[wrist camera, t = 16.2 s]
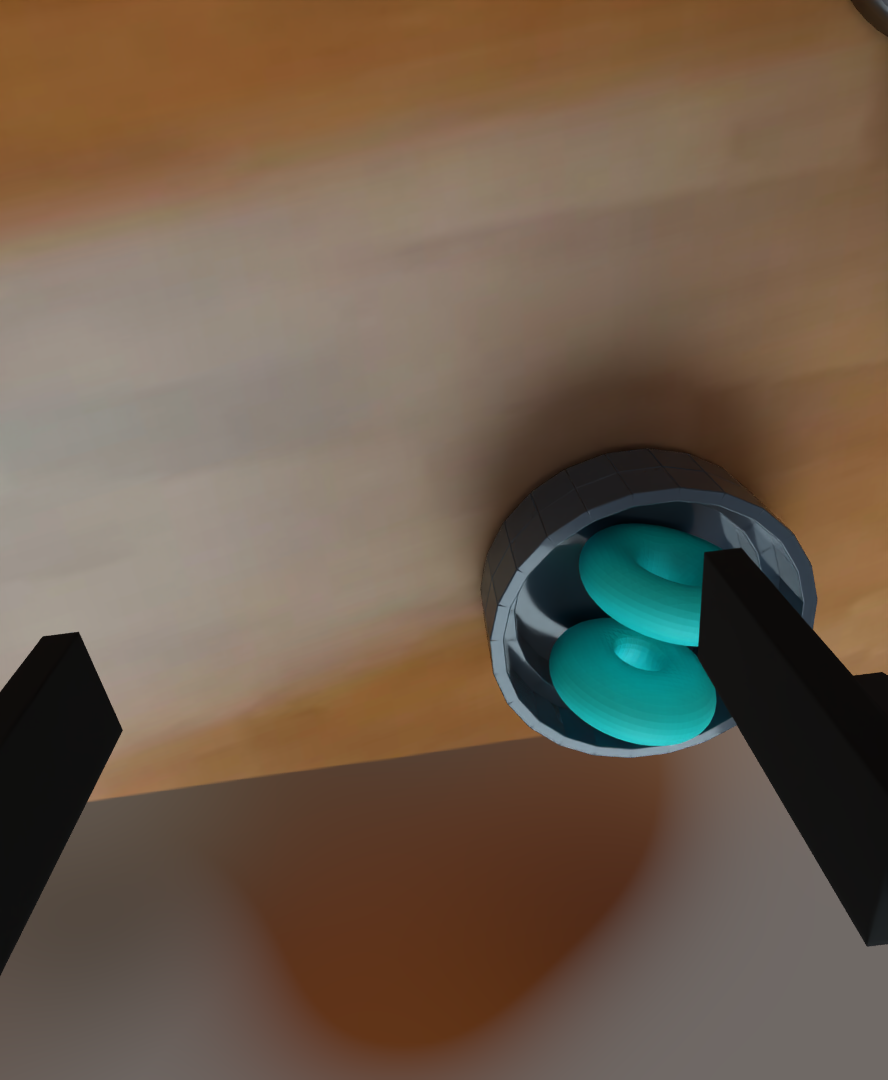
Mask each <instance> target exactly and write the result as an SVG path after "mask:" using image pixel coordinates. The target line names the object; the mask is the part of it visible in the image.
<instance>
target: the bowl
mask: <svg viewBox="0 0 888 1080" xmlns="http://www.w3.org/2000/svg"><path fill="white" fill-rule="evenodd" d="M629 523H640V524H651V525H658V526H663V527H668V528H672V529H675V530H679V531H682V532H685V533H688V534H691V535H694V536H696V537H699V538H701V539H704V540H706V541H708V542H710V543H712V544H714V545H716V546H718V547H719V548H721V549H723V550H725V549H733V548H742V549H743V550H744V551H745V552H746V554H747V555H748V556H749V557H750V558H751V559H752V560H753V562H754V563H755V564H756V565H757V566H758V567H759V568H760V570H761V571H762V572H763V573H764V574H765V575H766V576H767V578H768V579H769V580H770V581H771V582H772V583H773V585H774V586H775V587H776V588H777V589H778V590H779V591H780V593H781V594H782V595H783V596H784V597H785V598H786V599H787V601H788V602H789V603H790V604H791V605H792V606H793V607H794V609H795V610H796V611H797V612H798V613H799V614H800V616H801V617H802V618H803V619H804V620H805V621H806V622H807V624H808V625H809V626H810V627H811V628H812V629H813V625H814V618H815V612H816V605H817V594H816V588H815V582H814V576H813V571H812V565H811V563H810V561H809V559H808V558H807V556H806V554H805V552H804V551H803V549H802V547H801V545H800V544H799V542H798V540H797V538H796V537H795V535H794V534H793V533H792V531H791V530H790V529H789V528H787V527H786V526H785V525H784V524H783V523H782V522H781V521H780V520H779V519H778V518H777V517H776V516H775V515H774V514H773V513H772V512H771V511H770V510H769V509H768V508H767V507H766V506H765V505H763V504H762V503H761V502H760V501H759V500H758V499H757V498H756V497H755V496H754V495H753V494H752V493H751V492H750V491H749V490H748V489H747V488H745V487H744V486H743V485H742V484H741V483H740V482H738V481H737V480H736V479H735V478H734V477H733V476H731V475H730V474H729V473H728V472H727V471H725V470H724V469H723V468H721V467H719V466H717V465H714V464H712V463H710V462H707V461H705V460H703V459H700V458H698V457H695V456H693V455H691V454H687V453H681V452H673V451H665V450H657V449H646V448H645V449H638V450H630V451H622V452H615V453H607V454H603V455H601V456H598V457H595V458H593V459H590V460H588V461H585V462H582V463H580V464H577V465H574V466H572V467H569V468H567V469H566V470H563V471H562V472H560V473H559V474H557V475H556V476H554V477H553V478H551V479H550V480H548V481H547V482H545V483H544V484H542V485H541V486H539V487H538V488H536V489H535V490H534V491H532V492H531V493H530V494H529V495H528V496H527V497H526V498H525V499H524V500H523V502H522V503H521V504H520V505H519V506H518V507H517V508H516V509H515V510H514V512H513V513H512V514H511V515H510V516H509V517H508V518H507V519H506V520H505V522H504V523H503V524H502V526H501V528H500V530H499V532H498V534H497V536H496V538H495V540H494V542H493V544H492V546H491V548H490V550H489V552H488V554H487V558H486V563H485V568H484V573H483V578H482V583H481V597H482V606H483V615H484V622H485V628H486V634H487V640H488V646H489V652H490V657H491V663H492V669H493V674H494V676H495V679H496V681H497V683H498V685H499V687H500V689H501V691H502V694H503V696H504V698H505V700H506V702H507V703H508V705H509V706H510V707H511V708H512V709H513V710H514V711H515V712H516V713H517V715H518V716H519V717H520V718H521V719H522V720H523V721H524V722H525V723H526V724H527V725H528V726H529V727H530V728H531V729H533V730H535V731H536V732H538V733H540V734H541V735H543V736H545V737H546V738H548V739H550V740H552V741H553V742H555V743H557V744H558V745H561V746H564V747H567V748H571V749H574V750H577V751H581V752H584V753H588V754H591V755H598V756H612V757H625V758H630V757H631V758H634V757H641V756H649V755H658V754H666V753H671V752H675V751H678V750H681V749H684V748H687V747H690V746H693V745H697V744H700V743H703V742H706V741H708V740H710V739H712V738H714V737H716V736H717V735H719V734H721V733H723V732H725V731H727V730H729V729H730V728H732V727H734V726H736V723H735V721H734V719H733V718H732V716H731V714H730V713H729V711H728V709H727V708H726V706H725V704H724V702H723V701H722V699H721V697H720V696H719V694H718V692H717V691H716V689H715V691H716V708H715V713H714V715H713V718H712V720H711V722H710V723H709V725H708V726H707V727H706V728H705V729H704V730H703V731H702V732H701V733H700V734H699V735H697V736H696V737H694V738H692V739H690V740H688V741H686V742H683V743H680V744H675V745H668V746H648V745H640V744H634V743H630V742H627V741H623V740H620V739H617V738H615V737H612V736H610V735H608V734H605V733H603V732H601V731H599V730H598V729H596V728H594V727H592V726H591V725H589V724H588V723H586V722H585V721H583V720H582V719H581V718H580V717H578V716H577V715H576V714H575V713H574V712H573V711H572V710H571V709H570V708H569V707H568V706H567V705H566V704H565V703H564V701H563V700H562V699H561V697H560V696H559V694H558V693H557V691H556V689H555V687H554V685H553V682H552V679H551V676H550V670H549V659H550V654H551V650H552V648H553V646H554V644H555V642H556V641H557V639H558V638H559V637H560V636H561V635H562V634H563V633H564V632H565V631H566V630H567V629H569V628H571V627H572V626H574V625H576V624H578V623H581V622H584V621H587V620H592V619H598V618H612V617H610V616H609V615H608V614H607V613H605V612H604V611H603V610H602V609H601V608H600V607H599V606H598V605H597V604H596V603H595V601H594V600H593V599H592V598H591V597H590V595H589V594H588V592H587V591H586V589H585V587H584V585H583V583H582V580H581V577H580V572H579V558H580V554H581V551H582V548H583V547H584V545H585V544H586V542H587V541H588V540H589V538H591V537H592V536H593V535H594V534H595V533H597V532H599V531H600V530H603V529H605V528H607V527H610V526H614V525H619V524H629ZM686 647H688V648H689V649H690V650H691V651H692V652H693V653H694V654H695V655H696V656H697V657H698V646H686Z"/></svg>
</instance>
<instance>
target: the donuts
mask: <svg viewBox="0 0 888 1080" xmlns="http://www.w3.org/2000/svg"><path fill="white" fill-rule="evenodd" d="M718 550H723V549H721V548H719V547H718V546H716V545H714V544H712V543H710V542H708V541H706V540H704V539H701V538H699V537H696V536H694V535H691V534H688V533H685V532H682V531H679V530H675V529H672V528H668V527H663V526H658V525H651V524H640V523H629V524H619V525H614V526H610V527H607V528H605V529H603V530H600V531H599V532H597V533H595V534H594V535H593V536H592V537H591V538H589V540H588V541H587V542H586V544H585V545H584V547H583V548H582V551H581V554H580V558H579V572H580V577H581V580H582V583H583V585H584V587H585V589H586V591H587V592H588V594H589V595H590V597H591V598H592V599H593V600H594V601H595V603H596V604H597V605H598V606H599V607H600V608H601V609H602V610H603V611H604V612H605V613H607V614H608V615H609V616H610V617H612V618H598V619H592V620H587V621H584V622H581V623H578V624H576V625H574V626H572V627H571V628H569V629H567V630H566V631H565V632H564V633H563V634H562V635H561V636H560V637H559V638H558V639H557V641H556V642H555V644H554V646H553V648H552V650H551V654H550V659H549V670H550V676H551V679H552V682H553V685H554V687H555V689H556V691H557V693H558V694H559V696H560V697H561V699H562V700H563V701H564V703H565V704H566V705H567V706H568V707H569V708H570V709H571V710H572V711H573V712H574V713H575V714H576V715H577V716H578V717H580V718H581V719H582V720H583V721H585V722H586V723H588V724H589V725H591V726H592V727H594V728H596V729H598V730H599V731H601V732H603V733H605V734H608V735H610V736H612V737H615V738H617V739H620V740H623V741H627V742H630V743H634V744H640V745H648V746H668V745H675V744H680V743H683V742H686V741H688V740H690V739H692V738H694V737H696V736H697V735H699V734H700V733H701V732H702V731H703V730H704V729H705V728H706V727H707V726H708V725H709V723H710V722H711V720H712V718H713V715H714V713H715V708H716V691H715V687H714V685H713V684H712V682H711V680H710V679H709V677H708V675H707V673H706V672H705V670H704V668H703V667H702V665H701V663H700V662H699V660H698V657H697V656H696V655H695V654H694V653H693V652H692V651H691V650H690V649H689V648H688V647H686V646H698V643H699V627H700V611H701V596H702V580H703V564H704V552H710V551H718Z"/></svg>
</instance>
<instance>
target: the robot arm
mask: <svg viewBox="0 0 888 1080" xmlns="http://www.w3.org/2000/svg"><path fill="white" fill-rule="evenodd" d="M851 1H852V3H853V4H854V6H855V7H856V9H857V10H858V11H859V12H860V13H861V14H862V16H863V17H864V18H865V19H866V20H867V21H868V22H869V23H870V24H871V25H873V26H874V27H875V28H876V29H877V30H878V31H880V32H881V33H883V34H884V35H886V36H887V37H888V0H851ZM698 660H699V662H700V663H701V665H702V667H703V668H704V670H705V672H706V673H707V675H708V677H709V679H710V680H711V682H712V684H713V685H714V687H715V689H716V691H717V692H718V694H719V696H720V697H721V699H722V701H723V702H724V704H725V706H726V708H727V709H728V711H729V713H730V714H731V716H732V718H733V719H734V721H735V723H736V725H737V726H738V728H739V729H740V731H741V733H742V735H743V736H744V738H745V740H746V742H747V743H748V745H749V747H750V748H751V750H752V752H753V753H754V755H755V757H756V758H757V760H758V762H759V764H760V765H761V767H762V769H763V770H764V772H765V774H766V775H767V777H768V779H769V781H770V782H771V784H772V786H773V787H774V789H775V791H776V793H777V794H778V796H779V798H780V799H781V801H782V803H783V804H784V806H785V808H786V809H787V811H788V813H789V815H790V816H791V818H792V820H793V821H794V823H795V825H796V827H797V828H798V830H799V832H800V833H801V835H802V837H803V838H804V840H805V842H806V844H807V845H808V847H809V849H810V850H811V852H812V854H813V855H814V857H815V859H816V861H817V862H818V864H819V866H820V867H821V869H822V871H823V872H824V874H825V876H826V878H827V879H828V881H829V883H830V884H831V886H832V888H833V889H834V891H835V893H836V895H837V896H838V898H839V900H840V901H841V903H842V905H843V906H844V908H845V910H846V912H847V913H848V915H849V917H850V918H851V920H852V922H853V924H854V925H855V927H856V928H857V930H858V932H859V934H860V935H861V937H862V939H863V940H864V942H865V944H866V946H876V945H884V944H888V675H886V674H885V673H883V672H879V673H871V674H863V675H855V676H853V675H852V674H851V673H850V672H849V671H848V670H847V668H846V667H845V666H844V665H843V664H842V663H841V661H840V660H839V659H838V658H837V657H836V656H835V655H834V653H833V652H832V651H831V650H830V649H829V648H828V647H827V645H826V644H825V643H824V642H823V641H822V640H821V639H820V637H819V636H818V635H817V634H816V633H815V632H814V630H813V629H812V628H811V627H810V626H809V625H808V624H807V622H806V621H805V620H804V619H803V618H802V617H801V616H800V614H799V613H798V612H797V611H796V610H795V609H794V607H793V606H792V605H791V604H790V603H789V602H788V601H787V599H786V598H785V597H784V596H783V595H782V594H781V593H780V591H779V590H778V589H777V588H776V587H775V586H774V585H773V583H772V582H771V581H770V580H769V579H768V578H767V576H766V575H765V574H764V573H763V572H762V571H761V570H760V568H759V567H758V566H757V565H756V564H755V563H754V562H753V560H752V559H751V558H750V557H749V556H748V555H747V554H746V552H745V551H744V550H743V549H742V548H733V549H725V550H718V551H710V552H704V564H703V580H702V596H701V611H700V627H699V643H698ZM122 731H123V730H122V727H121V725H120V723H119V721H118V718H117V716H116V714H115V712H114V710H113V707H112V705H111V703H110V701H109V698H108V696H107V694H106V692H105V689H104V687H103V685H102V683H101V680H100V678H99V676H98V674H97V672H96V669H95V667H94V665H93V663H92V660H91V658H90V656H89V654H88V651H87V649H86V647H85V645H84V642H83V640H82V638H81V636H80V634H79V632H74V633H66V634H58V635H51V636H43V637H42V638H41V639H40V641H39V642H38V643H37V645H36V646H35V647H34V649H33V650H32V651H31V653H30V654H29V655H28V656H27V658H26V659H25V660H24V662H23V663H22V664H21V666H20V667H19V668H18V669H17V671H16V672H15V673H14V675H13V676H12V677H11V679H10V680H9V681H8V683H7V684H6V685H5V686H4V688H3V689H2V690H1V692H0V975H1V973H2V971H3V969H4V967H5V965H6V963H7V961H8V959H9V957H10V955H11V953H12V951H13V949H14V947H15V945H16V943H17V941H18V939H19V937H20V935H21V933H22V931H23V929H24V927H25V925H26V923H27V921H28V919H29V917H30V915H31V913H32V911H33V909H34V907H35V905H36V903H37V901H38V899H39V897H40V895H41V893H42V891H43V889H44V887H45V885H46V883H47V881H48V879H49V877H50V875H51V873H52V871H53V869H54V867H55V865H56V863H57V861H58V859H59V857H60V855H61V853H62V851H63V849H64V847H65V845H66V843H67V841H68V839H69V837H70V835H71V833H72V831H73V829H74V827H75V825H76V823H77V821H78V819H79V817H80V815H81V813H82V811H83V809H84V807H85V805H86V803H87V801H88V799H89V797H90V795H91V793H92V791H93V789H94V787H95V785H96V783H97V781H98V779H99V777H100V775H101V773H102V771H103V769H104V767H105V765H106V763H107V761H108V759H109V757H110V755H111V753H112V751H113V749H114V747H115V745H116V743H117V741H118V739H119V737H120V735H121V733H122Z"/></svg>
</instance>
